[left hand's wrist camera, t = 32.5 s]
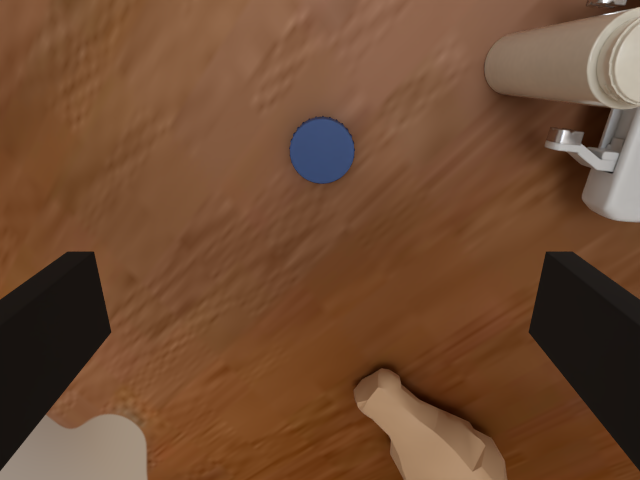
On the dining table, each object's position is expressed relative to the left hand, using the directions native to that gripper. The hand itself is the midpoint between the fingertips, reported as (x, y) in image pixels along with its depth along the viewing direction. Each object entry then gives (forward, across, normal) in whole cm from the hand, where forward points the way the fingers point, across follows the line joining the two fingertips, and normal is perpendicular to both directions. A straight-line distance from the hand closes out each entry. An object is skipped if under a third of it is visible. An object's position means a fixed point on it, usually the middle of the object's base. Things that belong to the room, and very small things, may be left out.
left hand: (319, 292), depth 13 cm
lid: (+26, 0, 0) cm, 26 cm away
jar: (+27, +16, +7) cm, 32 cm away
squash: (+27, +12, -32) cm, 43 cm away
